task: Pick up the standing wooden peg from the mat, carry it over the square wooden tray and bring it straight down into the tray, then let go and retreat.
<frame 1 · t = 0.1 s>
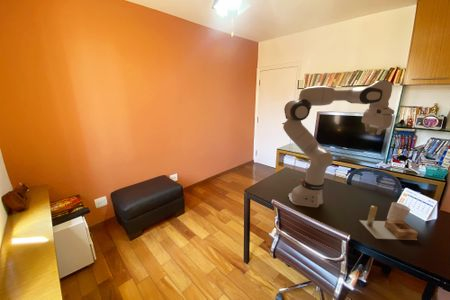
hand: (372, 132, 115), 48 cm above the table, fingers open, 8 cm apart
square wooden tray: (399, 232, 100), resting on mat
wooden peg: (369, 225, 105), point 1 cm above the table, touching mat
mat: (386, 230, 102), on the table
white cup: (393, 221, 108), point 1 cm above the table, touching mat
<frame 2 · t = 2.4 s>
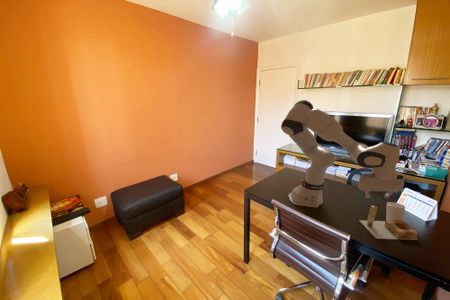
hand: (376, 197, 100), 18 cm above the table, fingers open, 8 cm apart
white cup: (393, 221, 108), on the table, touching mat
everything else where it was.
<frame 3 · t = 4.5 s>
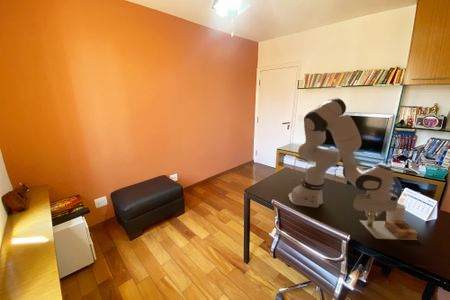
hand: (371, 216, 104), 6 cm above the table, fingers closed on wooden peg, 3 cm apart
wooden peg: (369, 225, 105), point 1 cm above the table, touching gripper, mat
everything else where it was.
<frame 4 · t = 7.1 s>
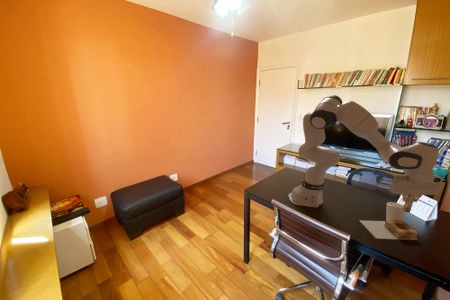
hand: (409, 201, 94), 20 cm above the table, fingers closed on wooden peg, 3 cm apart
wooden peg: (406, 211, 95), point 14 cm above the table, touching gripper
everything else where it was.
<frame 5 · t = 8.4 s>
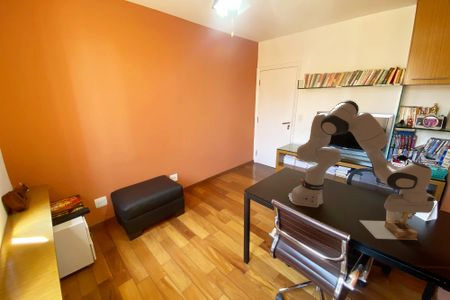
hand: (403, 218, 97), 10 cm above the table, fingers closed on wooden peg, 3 cm apart
wooden peg: (400, 227, 98), point 4 cm above the table, touching gripper
everything else where it was.
when the fingers open (7 cm above the table, at t = 9.5 s): wooden peg stays where it is, resting on mat.
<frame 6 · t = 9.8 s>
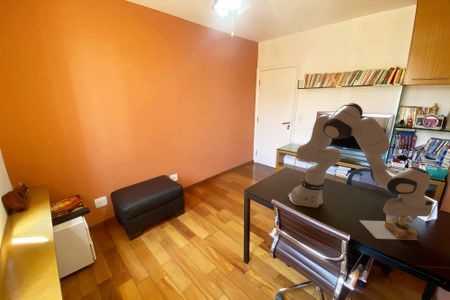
hand: (402, 221, 98), 7 cm above the table, fingers open, 5 cm apart
wooden peg: (399, 232, 100), point 1 cm above the table, touching mat
everything else where it was.
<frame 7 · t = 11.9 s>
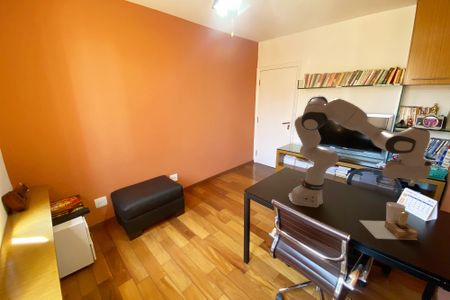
hand: (401, 185, 97), 26 cm above the table, fingers open, 8 cm apart
nothing on the table moved.
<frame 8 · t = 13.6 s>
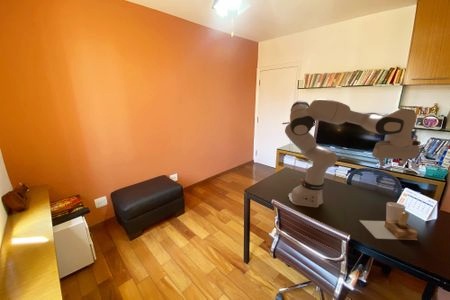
hand: (391, 165, 100), 34 cm above the table, fingers open, 8 cm apart
nothing on the table moved.
at the end: wooden peg 0.1 cm off-centre on the square wooden tray, point 0.0 cm above the square wooden tray's base; wooden peg tilted 1°; the gripper is holding nothing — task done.
